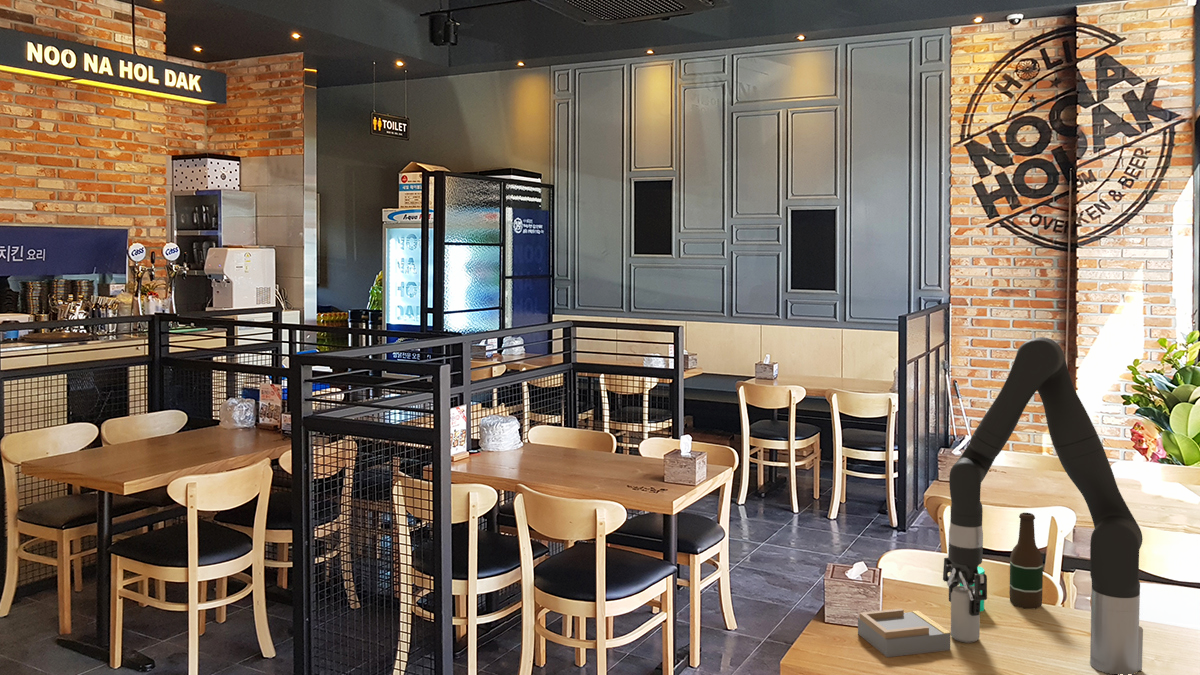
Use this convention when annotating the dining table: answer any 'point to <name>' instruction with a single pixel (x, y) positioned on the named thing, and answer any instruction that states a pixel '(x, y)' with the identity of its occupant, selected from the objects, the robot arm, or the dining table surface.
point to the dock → (902, 632)
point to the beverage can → (963, 617)
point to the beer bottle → (1026, 567)
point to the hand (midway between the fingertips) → (963, 608)
